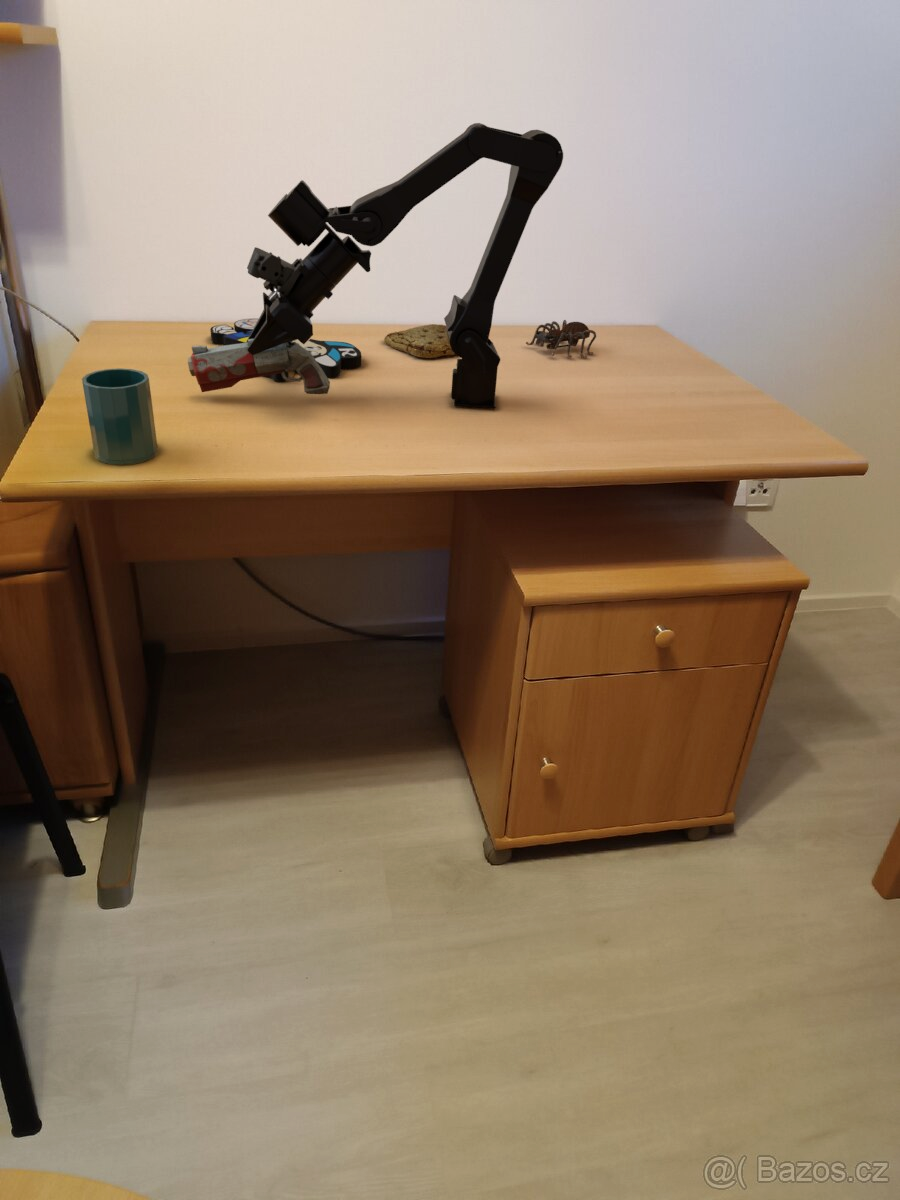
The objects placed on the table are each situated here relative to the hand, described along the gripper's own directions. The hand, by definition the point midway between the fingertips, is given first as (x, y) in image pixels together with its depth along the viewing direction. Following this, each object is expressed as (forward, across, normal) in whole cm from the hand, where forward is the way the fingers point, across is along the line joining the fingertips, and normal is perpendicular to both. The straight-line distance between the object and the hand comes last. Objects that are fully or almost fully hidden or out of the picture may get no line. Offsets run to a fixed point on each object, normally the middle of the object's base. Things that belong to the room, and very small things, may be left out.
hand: (249, 348), depth 130 cm
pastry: (-18, -27, +30) cm, 44 cm away
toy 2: (-35, -24, +48) cm, 64 cm away
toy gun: (+4, 0, +6) cm, 7 cm away
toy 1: (+2, -23, +10) cm, 25 cm away
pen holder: (+18, +19, -7) cm, 27 cm away
